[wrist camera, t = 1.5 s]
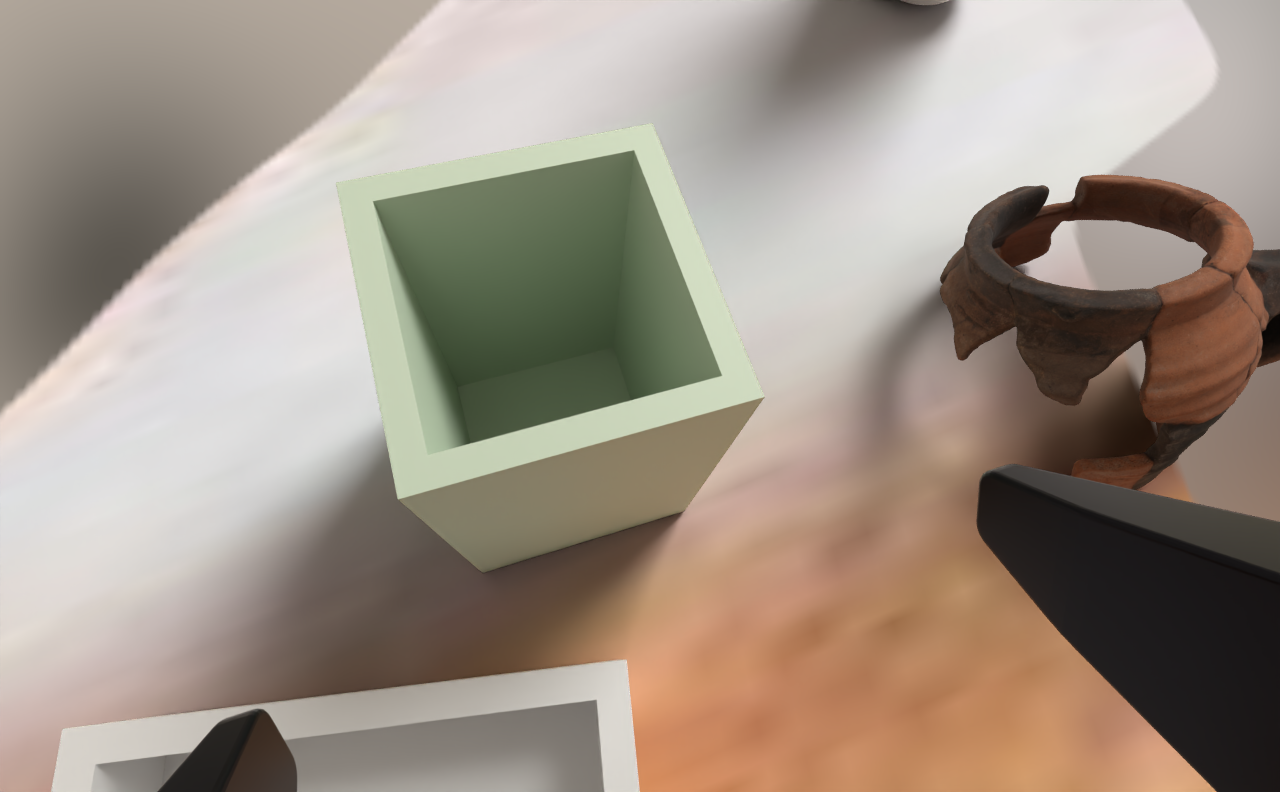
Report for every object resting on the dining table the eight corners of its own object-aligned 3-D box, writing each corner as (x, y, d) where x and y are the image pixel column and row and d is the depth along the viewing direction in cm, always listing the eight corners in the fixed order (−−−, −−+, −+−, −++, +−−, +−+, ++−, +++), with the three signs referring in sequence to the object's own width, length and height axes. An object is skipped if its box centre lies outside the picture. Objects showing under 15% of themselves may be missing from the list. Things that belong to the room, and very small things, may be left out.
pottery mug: (987, 544, 22) (1026, 362, 17) (888, 364, 29) (892, 194, 24) (1376, 469, 21) (1556, 245, 15) (1175, 300, 28) (1250, 104, 22)
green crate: (684, 511, 21) (764, 397, 12) (482, 572, 20) (397, 499, 11) (623, 335, 23) (652, 122, 14) (438, 381, 22) (335, 182, 13)
